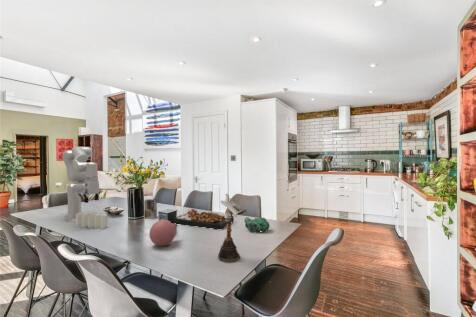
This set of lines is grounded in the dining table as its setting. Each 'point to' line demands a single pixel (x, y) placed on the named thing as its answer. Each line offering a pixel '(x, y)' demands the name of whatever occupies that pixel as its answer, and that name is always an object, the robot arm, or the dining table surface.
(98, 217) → the domino
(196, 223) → the food platter
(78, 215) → the domino
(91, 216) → the domino
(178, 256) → the dining table surface
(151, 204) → the coffee box
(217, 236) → the dining table surface
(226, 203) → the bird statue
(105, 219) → the domino
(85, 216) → the domino
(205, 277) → the dining table surface
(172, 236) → the dusty pink rubber ball
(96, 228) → the track board
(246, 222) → the mineral
